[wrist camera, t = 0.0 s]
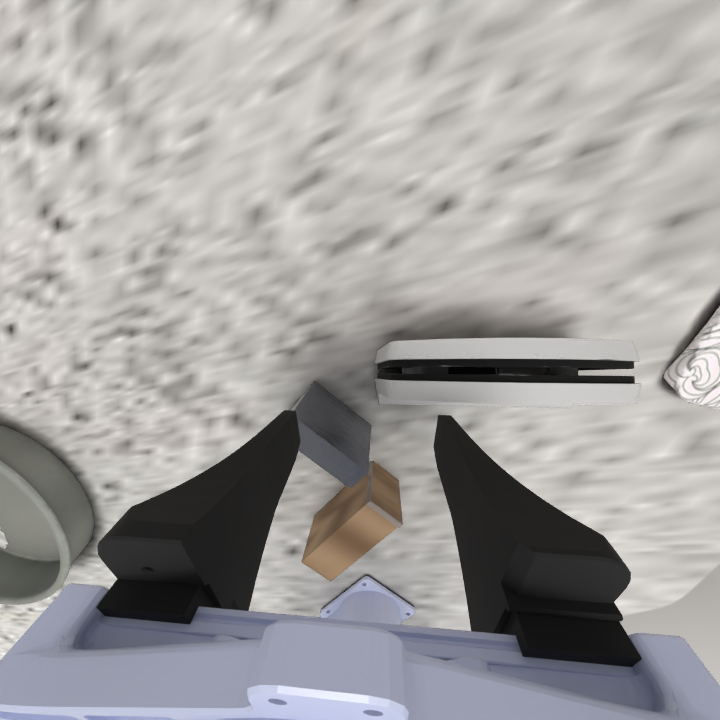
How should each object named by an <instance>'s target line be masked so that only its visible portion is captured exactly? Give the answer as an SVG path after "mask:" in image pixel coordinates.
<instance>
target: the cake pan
mask: <svg viewBox="0 0 720 720" xmlns="http://www.w3.org/2000/svg"><path fill="white" fill-rule="evenodd" d="M0 527H1V529H0V531H2V532H4V534H5V537H6V540H7V542H8V545H7V547H6V549H3V548H1V547H0V604H10V605H20V604H29V603H34V602H38V601H41V600H43V599H46V598H48V597H50V596H51V595H53V594H54V593H55V592H56V591H58V590H59V589H60V588H61V587H62V585H63V584H64V582H65V580H66V578H67V576H68V573H69V569H70V565H71V563H72V562H73V561H74V560H75V559H76V557H77V556H78V555H79V554H80V553H81V551H82V550H83V549H84V548H85V547H86V545H87V544H88V543H89V541H90V539H91V537H92V534H93V529H94V516H93V511H92V507H91V504H90V501H89V499H88V496H87V494H86V492H85V491H84V489H83V487H82V486H81V484H80V482H79V481H78V480H77V478H76V477H75V476H74V474H73V473H72V472H71V471H70V470H69V469H68V468H67V466H66V465H65V464H64V463H63V462H62V461H61V460H59V459H58V458H57V457H56V456H55V455H54V454H53V453H51V452H50V451H49V450H47V449H46V448H45V447H43V446H42V445H40V444H39V443H37V442H36V441H34V440H33V439H31V438H29V437H27V436H26V435H24V434H22V433H20V432H17V431H15V430H13V429H10V428H8V427H5V426H2V425H0Z"/></svg>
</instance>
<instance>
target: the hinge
mask: <svg viewBox="0 0 720 720" xmlns="http://www.w3.org/2000/svg"><path fill="white" fill-rule="evenodd" d="M638 361H640V359H639V356H638V354H637V351H636V348H635V345H634V343H633V341H622V340H606V339H578V338H460V339H429V340H404V341H393V342H389V343H388V344H386V345H385V346H383V347H382V348H381V349H379V350H378V351H377V355H376V359H375V364H378V369H398V368H400V369H401V370H402V372H403V374H378V379H375V385H376V391H377V396H378V402H379V404H387V405H437V406H487V407H537V408H572V407H573V405H618V404H637V401H638V397H639V392H640V388H641V384H639V383H635V380H634V376H578V370H606V369H633V368H634V362H638ZM449 367H495V369H496V375H484V374H448V368H449ZM546 368H550V375H545V371H546Z"/></svg>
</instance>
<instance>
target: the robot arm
mask: <svg viewBox="0 0 720 720" xmlns="http://www.w3.org/2000/svg"><path fill="white" fill-rule="evenodd" d="M300 442H301V440H300V434H299V427H298V421H297V415H296V411H288V410H284V411H283V412H282V413H281V414H280V415H278V416H277V417H276V418H275V419H274V420H273V421H272V422H271V423H270V424H268V425H267V426H266V427H265V428H264V429H263V430H262V431H260V432H259V433H258V434H257V435H256V436H254V437H253V438H252V439H251V440H249V441H248V442H247V443H246V444H244V445H243V446H242V447H241V448H239V449H238V450H237V451H235V452H234V453H232V454H231V455H230V456H228V457H227V458H225V459H224V460H222V461H221V462H219V463H218V464H216V465H214V466H213V467H211V468H209V469H208V470H206V471H204V472H203V473H201V474H199V475H198V476H196V477H194V478H192V479H190V480H188V481H187V482H185V483H183V484H181V485H179V486H177V487H175V488H173V489H171V490H169V491H167V492H164V493H162V494H160V495H158V496H156V497H153V498H151V499H149V500H146V501H144V502H142V503H140V504H137V505H135V506H132V507H131V508H130V509H129V510H128V511H127V512H126V513H125V514H124V515H123V517H122V518H121V519H120V520H119V521H118V522H117V523H116V524H115V525H114V526H113V528H112V529H111V530H110V531H109V532H108V533H107V534H106V535H105V536H104V537H103V538H102V540H101V541H100V542H99V544H98V546H97V547H98V555H99V556H100V558H101V559H102V561H103V562H104V563H105V564H106V565H107V567H108V568H109V569H110V570H111V571H112V573H113V574H114V575H115V576H116V577H117V580H116V582H115V583H114V584H113V586H112V587H111V588H110V590H109V589H108V588H105V587H103V586H98V585H87V584H75V583H71V584H69V585H67V586H66V588H65V589H64V590H63V591H62V592H61V593H60V594H59V595H58V597H57V598H56V599H55V600H54V601H53V602H52V603H51V604H50V605H49V607H48V608H47V609H46V610H45V611H44V612H43V613H42V614H41V616H40V617H39V618H38V619H37V620H36V621H35V622H34V623H33V625H32V626H31V627H30V628H29V629H28V630H27V631H26V632H25V633H24V635H23V636H22V637H21V638H20V639H19V640H18V641H17V642H16V644H15V645H14V646H13V647H12V648H11V649H10V650H9V651H8V653H7V654H6V655H5V656H4V657H3V658H2V659H1V660H0V720H720V685H719V684H718V683H717V681H716V680H715V679H714V677H713V676H712V675H711V673H710V672H709V671H708V670H707V668H706V667H705V665H704V664H703V663H702V661H701V660H700V659H699V658H698V656H697V655H696V653H695V652H694V651H693V649H692V648H691V647H690V645H689V644H688V643H687V641H686V640H685V639H684V638H682V637H680V636H671V635H660V634H659V635H658V634H647V633H635V634H631V635H629V636H628V635H627V633H626V632H625V630H624V629H623V627H622V625H621V624H620V622H619V621H622V620H623V617H622V614H621V613H620V611H619V610H618V608H617V606H616V605H615V603H614V601H615V600H616V599H617V598H618V597H619V596H620V595H621V593H622V592H623V591H624V590H625V589H626V588H627V586H628V584H629V583H630V579H631V572H630V571H629V569H628V568H627V566H626V565H625V563H624V562H623V561H622V559H621V558H620V556H619V555H618V554H617V552H616V551H615V550H614V548H613V547H612V546H611V545H610V543H609V542H608V541H607V540H606V538H605V537H604V536H603V535H601V534H599V533H598V532H596V531H594V530H592V529H591V528H589V527H587V526H585V525H584V524H582V523H580V522H578V521H577V520H575V519H573V518H571V517H570V516H568V515H566V514H565V513H563V512H562V511H560V510H558V509H557V508H555V507H554V506H552V505H550V504H549V503H547V502H546V501H545V500H543V499H542V498H540V497H539V496H537V495H536V494H534V493H533V492H532V491H530V490H529V489H527V488H526V487H525V486H523V485H522V484H521V483H519V482H518V481H517V480H515V479H514V478H513V477H512V476H511V475H509V474H508V473H507V472H506V471H505V470H503V469H502V468H501V467H500V466H499V465H498V464H496V463H495V462H494V461H493V460H492V459H491V458H490V457H489V456H488V455H487V454H486V453H485V452H484V451H483V450H482V449H481V448H480V447H479V446H478V445H477V444H476V443H475V442H474V441H473V440H472V439H471V438H470V437H469V435H468V434H467V433H466V432H465V431H464V430H463V429H462V428H461V426H460V425H459V424H458V423H457V422H456V421H455V420H454V418H453V417H452V416H449V415H438V420H437V427H436V434H435V441H434V451H435V458H436V463H437V468H438V471H439V475H440V478H441V482H442V485H443V488H444V492H445V495H446V499H447V502H448V505H449V509H450V512H451V516H452V520H453V525H454V530H455V535H456V540H457V546H458V551H459V557H460V562H461V568H462V574H463V580H464V586H465V592H466V598H467V605H468V611H469V618H470V625H471V631H462V630H451V629H440V628H429V627H418V626H407V625H400V623H401V622H403V621H404V620H406V619H407V618H409V617H410V616H412V615H413V614H414V613H415V609H414V607H413V606H411V605H410V604H408V603H407V602H405V601H404V600H402V599H401V598H400V597H398V596H397V595H395V594H394V593H392V592H391V591H389V590H388V589H386V588H385V587H383V586H382V585H381V584H379V583H378V582H376V581H375V580H373V579H372V578H370V577H369V576H365V577H363V578H362V579H361V580H359V581H358V582H357V583H356V584H354V585H353V586H352V587H350V588H349V589H348V590H347V591H345V592H344V593H343V594H341V595H340V596H339V597H338V598H336V599H335V600H334V601H332V602H331V603H330V604H328V605H327V606H326V607H325V608H323V609H322V610H321V611H320V616H321V617H322V618H319V617H308V616H297V615H286V614H275V613H264V612H253V611H249V606H250V602H251V598H252V594H253V590H254V585H255V581H256V577H257V574H258V570H259V566H260V562H261V558H262V554H263V551H264V547H265V544H266V540H267V537H268V533H269V530H270V526H271V523H272V520H273V517H274V513H275V510H276V507H277V505H278V502H279V499H280V497H281V494H282V492H283V490H284V487H285V485H286V482H287V480H288V477H289V475H290V473H291V470H292V468H293V465H294V463H295V460H296V457H297V453H298V449H299V446H300Z"/></svg>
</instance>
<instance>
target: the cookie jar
mask: <svg viewBox="0 0 720 720" xmlns="http://www.w3.org/2000/svg"><path fill="white" fill-rule="evenodd" d="M663 378H664V379H665V380H666V381H667V382H668V383H669V384H670V385H671V386H672V387H673V388H674V389H675V391H676V392H677V393H678V394H679V396H680V397H681V398H682V399H683V400H685V401H687V402H688V403H693V404H696V405H699V406H708V407H710V408H713V409H717V410H720V306H719V308H718V309H717V310H716V312H715V313H714V314H713V316H712V317H711V318H710V320H709V321H708V322H707V324H706V325H705V326H704V327H703V329H702V330H701V331H700V332H699V333H698V335H697V336H696V337H695V338H694V339H693V341H692V342H691V343H690V344H689V345H688V347H687V348H686V349H685V350H684V351H683V352H682V354H681V355H680V356H679V357H678V358H677V359H676V360H675V361H674V362H673V364H672V365H671V366H670V367H669V368H668V369H667V370H666V372H665V373H664V377H663Z"/></svg>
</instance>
